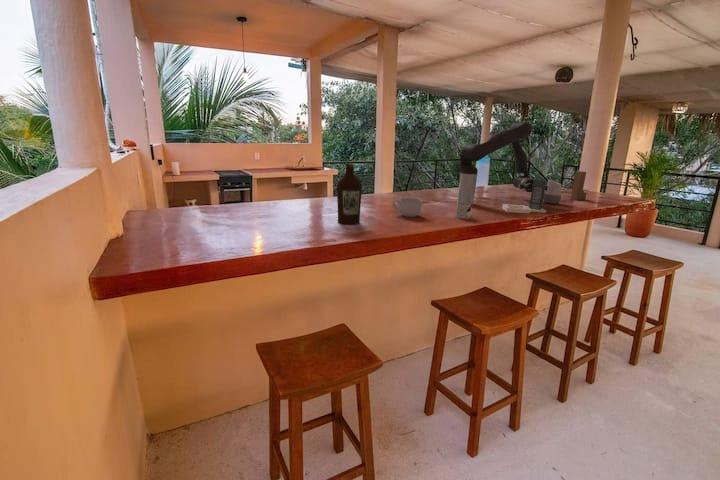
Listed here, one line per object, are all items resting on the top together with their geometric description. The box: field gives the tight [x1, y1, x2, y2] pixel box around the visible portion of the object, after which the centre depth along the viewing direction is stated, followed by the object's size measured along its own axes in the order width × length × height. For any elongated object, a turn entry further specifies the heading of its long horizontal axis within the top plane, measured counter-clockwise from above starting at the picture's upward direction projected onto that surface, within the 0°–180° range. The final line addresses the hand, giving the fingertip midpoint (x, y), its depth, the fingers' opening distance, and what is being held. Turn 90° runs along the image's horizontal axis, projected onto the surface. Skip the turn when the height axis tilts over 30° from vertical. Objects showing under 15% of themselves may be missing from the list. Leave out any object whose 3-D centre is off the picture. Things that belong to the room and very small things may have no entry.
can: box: [529, 179, 548, 210], centre depth 196 cm, size 6×6×15 cm
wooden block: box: [570, 170, 588, 201], centre depth 236 cm, size 9×4×18 cm, turn 115°
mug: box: [455, 202, 472, 220], centre depth 177 cm, size 10×7×7 cm, turn 160°
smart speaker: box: [543, 179, 563, 205], centre depth 219 cm, size 10×9×14 cm
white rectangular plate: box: [525, 205, 547, 214], centre depth 199 cm, size 8×10×1 cm
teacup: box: [392, 197, 423, 218], centre depth 176 cm, size 14×11×8 cm
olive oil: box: [336, 163, 363, 226], centre depth 156 cm, size 11×11×25 cm
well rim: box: [501, 203, 532, 214], centre depth 196 cm, size 12×12×2 cm
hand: (536, 188), depth 200 cm, fingers open, 8 cm apart
